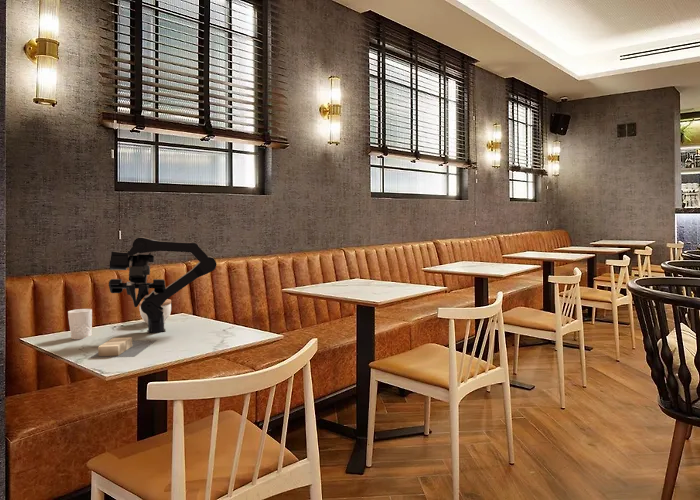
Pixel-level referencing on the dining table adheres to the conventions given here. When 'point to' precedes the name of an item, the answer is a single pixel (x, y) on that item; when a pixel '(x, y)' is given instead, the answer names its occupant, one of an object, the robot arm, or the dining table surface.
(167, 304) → the lidded bowl
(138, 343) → the rubber mat
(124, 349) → the birch block
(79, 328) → the white cup
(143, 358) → the dining table surface
